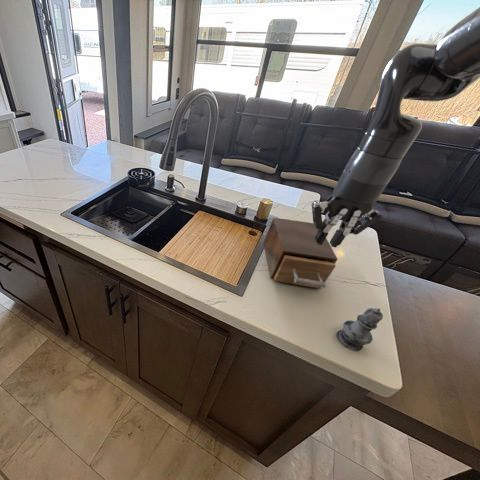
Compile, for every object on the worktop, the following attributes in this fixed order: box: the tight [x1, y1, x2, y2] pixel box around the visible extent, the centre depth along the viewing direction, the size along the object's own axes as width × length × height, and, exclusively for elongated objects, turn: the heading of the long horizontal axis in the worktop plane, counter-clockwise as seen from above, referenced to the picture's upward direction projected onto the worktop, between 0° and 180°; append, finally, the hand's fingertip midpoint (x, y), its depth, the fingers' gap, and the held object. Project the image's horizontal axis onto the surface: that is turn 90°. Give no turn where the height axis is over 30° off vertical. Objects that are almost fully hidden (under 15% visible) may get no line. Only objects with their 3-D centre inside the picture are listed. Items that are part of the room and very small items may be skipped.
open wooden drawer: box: [273, 253, 336, 289], centre depth 72 cm, size 20×12×9 cm, turn 169°
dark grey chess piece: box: [336, 307, 384, 352], centre depth 55 cm, size 6×6×12 cm
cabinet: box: [262, 217, 338, 280], centre depth 76 cm, size 17×14×11 cm
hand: (325, 243), depth 60 cm, fingers closed
